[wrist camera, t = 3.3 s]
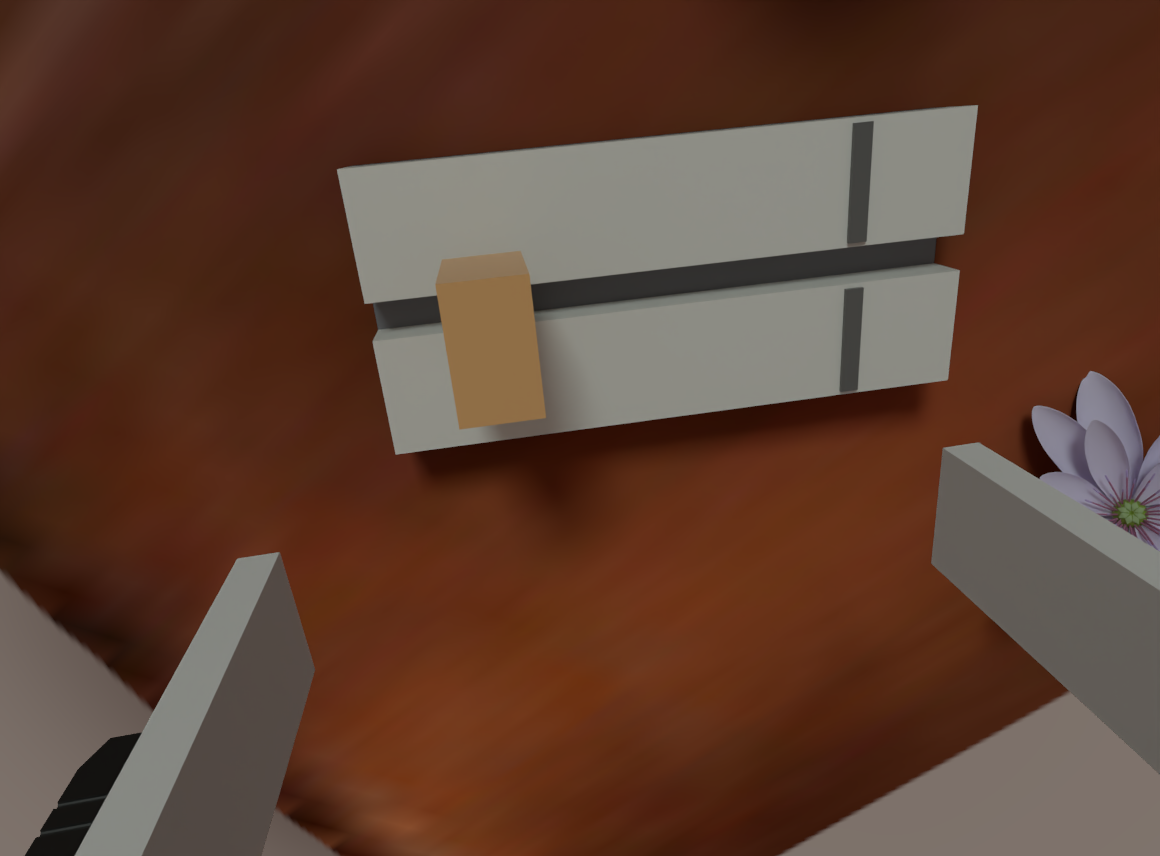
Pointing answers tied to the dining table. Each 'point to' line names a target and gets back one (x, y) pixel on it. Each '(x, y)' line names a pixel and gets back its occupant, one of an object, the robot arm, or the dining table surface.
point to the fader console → (676, 266)
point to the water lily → (1104, 458)
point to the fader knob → (490, 339)
